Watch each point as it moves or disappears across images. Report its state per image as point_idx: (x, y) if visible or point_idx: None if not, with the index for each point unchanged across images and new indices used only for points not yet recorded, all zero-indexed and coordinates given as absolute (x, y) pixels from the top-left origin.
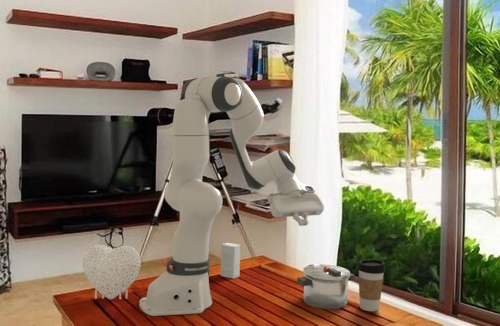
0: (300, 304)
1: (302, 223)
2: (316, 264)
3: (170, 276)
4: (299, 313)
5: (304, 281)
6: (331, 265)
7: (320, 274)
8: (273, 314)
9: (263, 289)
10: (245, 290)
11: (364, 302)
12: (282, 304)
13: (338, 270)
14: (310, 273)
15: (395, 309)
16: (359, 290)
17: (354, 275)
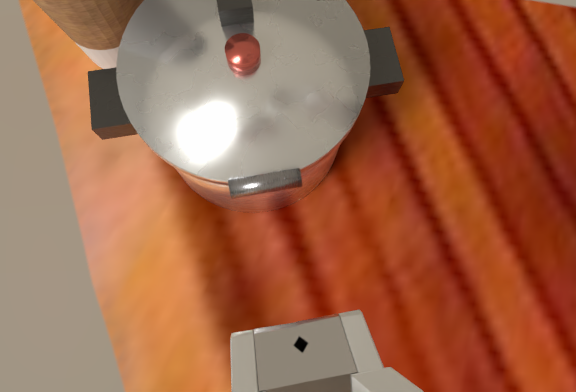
0: (363, 114)
1: (335, 315)
2: (250, 177)
3: None
4: (394, 38)
5: (383, 29)
6: (165, 150)
7: (302, 12)
8: (487, 45)
9: (476, 313)
10: (562, 312)
11: None
12: (433, 125)
13: (173, 58)
14: (349, 32)
15: (34, 16)
16: (138, 5)
17: (89, 72)
